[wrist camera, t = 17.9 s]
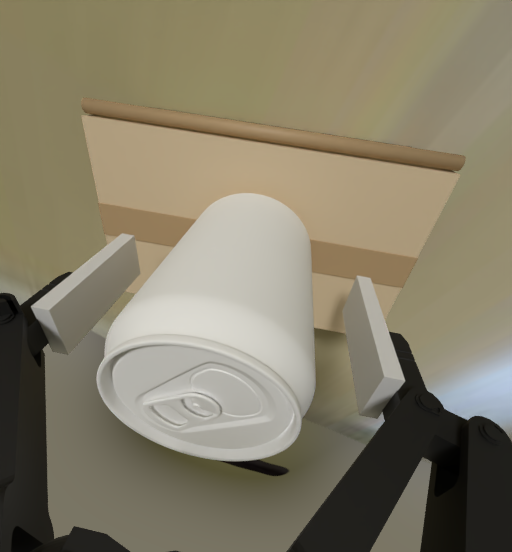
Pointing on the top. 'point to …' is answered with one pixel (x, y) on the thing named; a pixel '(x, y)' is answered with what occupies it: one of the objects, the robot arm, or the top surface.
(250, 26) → the top surface
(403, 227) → the lid
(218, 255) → the beverage can
